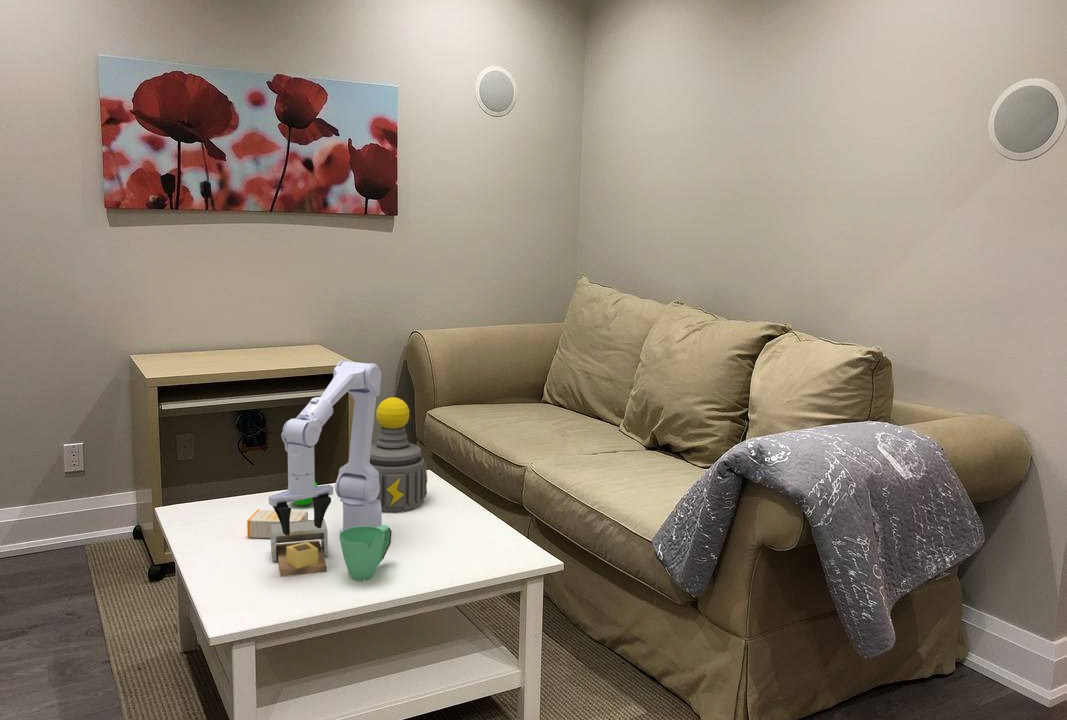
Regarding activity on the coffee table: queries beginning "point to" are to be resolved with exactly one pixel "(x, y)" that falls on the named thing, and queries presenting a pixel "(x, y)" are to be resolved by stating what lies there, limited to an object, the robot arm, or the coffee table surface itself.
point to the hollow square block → (302, 555)
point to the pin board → (290, 570)
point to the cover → (299, 534)
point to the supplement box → (269, 522)
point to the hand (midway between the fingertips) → (302, 530)
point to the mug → (364, 549)
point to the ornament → (304, 500)
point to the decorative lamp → (397, 460)
